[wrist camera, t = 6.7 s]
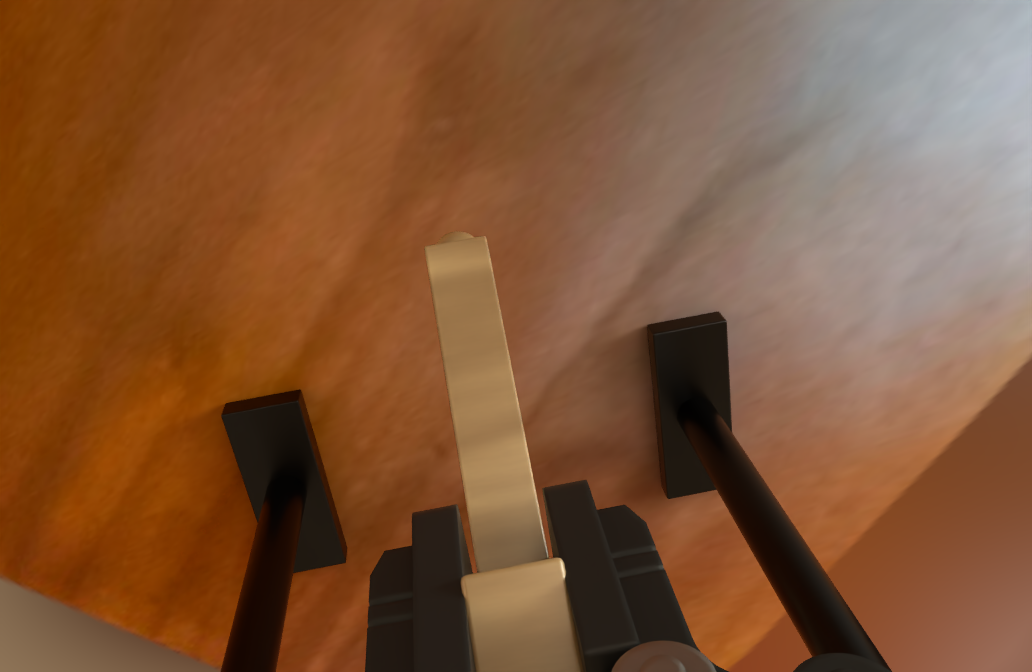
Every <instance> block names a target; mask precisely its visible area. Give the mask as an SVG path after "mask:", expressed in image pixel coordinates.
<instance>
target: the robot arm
mask: <svg viewBox="0 0 1032 672" xmlns="http://www.w3.org/2000/svg"><path fill="white" fill-rule="evenodd" d="M543 497H544V503H545V509H546V515H547V521H548V528H549V534H550V540H551V546H552V552H553V558H556V557H557V558H561V559H562V560H563V562H564V565H565V570H566V575H565V581H566V586H567V591H568V596H569V601H570V606H571V611H572V616H573V621H574V626H575V631H576V635H577V640H578V645H579V650H580V655H581V660H582V665H583V670H584V672H728V671H726V670H724V669H722V668H720V667H718V666H716V665H715V664H714V663H712V662H711V661H710V660H709V659H708V658H707V657H706V656H705V655H704V654H702V653H701V652H700V650H699V649H698V648H697V646H696V644H695V643H694V641H693V638H692V636H691V634H690V631H689V629H688V626H687V624H686V621H685V619H684V616H683V614H682V611H681V609H680V606H679V604H678V601H677V599H676V596H675V594H674V591H673V589H672V586H671V584H670V581H669V579H668V576H667V574H666V571H665V570H664V568H663V564H662V561H661V559H660V556H659V554H658V551H657V550H656V548H655V544H654V541H653V539H652V536H651V534H650V532H649V529H648V527H647V524H646V522H645V521H644V520H642V519H641V518H640V517H639V516H638V515H636V514H635V513H634V512H633V511H632V510H631V509H629V508H628V507H627V506H626V505H621V506H615V507H610V508H605V509H600V510H596V507H595V504H594V500H593V497H592V494H591V491H590V488H589V485H588V482H587V480H582V481H577V482H571V483H566V484H561V485H556V486H551V487H545V488H543ZM468 574H473V572H472V567H471V563H470V558H469V554H468V549H467V544H466V540H465V535H464V531H463V526H462V522H461V517H460V513H459V509H458V506H457V504H456V505H451V506H446V507H441V508H435V509H430V510H425V511H420V512H414V513H413V514H412V546H408V547H403V548H397V549H392V550H387V551H384V553H383V555H382V556H381V558H380V560H379V562H378V563H377V565H376V567H375V568H374V570H373V572H372V574H371V575H370V590H369V605H370V606H369V609H368V628H367V646H366V665H365V672H476V668H475V662H474V656H473V649H472V643H471V636H470V630H469V624H468V617H467V611H466V605H465V598H464V595H463V594H462V590H461V583H460V582H461V578H462V577H463V576H465V575H468ZM793 672H891V671H889V670H888V669H886V668H884V667H883V666H881V665H879V664H877V663H875V662H873V661H871V660H869V659H866V658H864V657H861V656H857V655H853V654H846V653H827V654H821V655H818V656H814V657H812V658H810V659H808V660H806V661H804V662H803V663H801V664H800V665H799V666H798V667H797V668H796V669H795V670H794V671H793Z"/></svg>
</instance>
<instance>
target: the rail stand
mask: <svg viewBox="0 0 1032 672" xmlns="http://www.w3.org/2000/svg"><path fill="white" fill-rule="evenodd" d="M647 331H648V342H649V353H650V363H651V374H652V385H653V396H654V407H655V418H656V429H657V439H658V450H659V461H660V472H661V483H662V488H663V490H664V492H665V494H666V496H667V498H668V499H672V498H677V497H682V496H687V495H692V494H697V493H702V492H707V491H712V490H717V491H718V493H719V495H720V496H721V498H722V500H723V501H724V503H725V505H726V507H727V508H728V510H729V512H730V514H731V515H732V517H733V519H734V521H735V522H736V524H737V526H738V528H739V529H740V531H741V533H742V535H743V536H744V538H745V540H746V542H747V543H748V545H749V547H750V549H751V550H752V552H753V554H754V556H755V557H756V559H757V561H758V563H759V564H760V566H761V568H762V570H763V571H764V573H765V575H766V577H767V578H768V580H769V582H770V584H771V585H772V587H773V589H774V591H775V592H776V594H777V596H778V598H779V599H780V601H781V603H782V605H783V606H784V608H785V610H786V612H787V613H788V615H789V617H790V618H791V620H792V622H793V624H794V625H795V627H796V629H797V630H798V632H799V634H800V636H801V638H802V639H803V641H804V643H805V644H806V646H807V648H808V650H809V652H810V653H811V655H812V657H814V656H818V655H821V654H827V653H846V654H853V655H857V656H861V657H864V658H866V659H869V660H871V661H873V662H875V663H877V664H879V665H881V666H883V667H884V668H886V669H888V670H889V671H891V669H890V668H889V667H888V665H887V663H886V662H885V660H884V659H883V657H882V656H881V654H880V653H879V652H878V650H877V648H876V647H875V645H874V644H873V642H872V641H871V640H870V638H869V637H868V635H867V634H866V632H865V631H864V629H863V628H862V626H861V625H860V623H859V622H858V620H857V619H856V617H855V616H854V614H853V613H852V611H851V610H850V608H849V607H848V605H847V604H846V602H845V601H844V599H843V598H842V596H841V595H840V593H839V592H838V590H837V589H836V587H835V586H834V584H833V583H832V581H831V580H830V578H829V577H828V575H827V574H826V572H825V571H824V569H823V568H822V566H821V565H820V563H819V562H818V560H817V559H816V557H815V556H814V554H813V553H812V551H811V550H810V548H809V547H808V545H807V544H806V542H805V541H804V539H803V538H802V537H801V535H800V534H799V532H798V531H797V529H796V528H795V526H794V525H793V523H792V522H791V520H790V519H789V517H788V516H787V514H786V513H785V511H784V510H783V508H782V507H781V505H780V504H779V502H778V501H777V499H776V498H775V496H774V495H773V493H772V492H771V490H770V489H769V487H768V486H767V484H766V483H765V481H764V480H763V478H762V477H761V475H760V474H759V472H758V471H757V469H756V468H755V466H754V465H753V463H752V462H751V460H750V459H749V457H748V456H747V454H746V453H745V451H744V450H743V448H742V447H741V445H740V444H739V442H738V441H737V439H736V438H735V437H734V435H733V434H732V422H731V401H730V381H729V360H728V339H727V321H726V320H725V319H724V317H723V316H722V315H721V314H720V313H719V312H713V313H708V314H702V315H697V316H692V317H686V318H681V319H676V320H670V321H665V322H660V323H654V324H649V325H647ZM221 417H222V420H223V423H224V425H225V428H226V431H227V434H228V437H229V440H230V443H231V446H232V449H233V452H234V455H235V458H236V461H237V463H238V466H239V469H240V472H241V475H242V478H243V481H244V484H245V487H246V490H247V493H248V496H249V498H250V501H251V504H252V507H253V510H254V513H255V516H256V519H257V522H258V525H257V529H256V533H255V537H254V541H253V545H252V549H251V553H250V557H249V561H248V565H247V569H246V573H245V577H244V581H243V585H242V589H241V593H240V597H239V601H238V605H237V609H236V613H235V617H234V621H233V625H232V629H231V633H230V637H229V641H228V645H227V649H226V653H225V657H224V661H223V665H222V669H221V672H276V667H277V661H278V656H279V650H280V644H281V639H282V633H283V627H284V622H285V616H286V610H287V605H288V599H289V593H290V587H291V582H292V576H293V573H296V572H301V571H306V570H311V569H316V568H321V567H326V566H332V565H337V564H342V563H346V556H347V546H346V542H345V539H344V535H343V532H342V529H341V525H340V522H339V518H338V515H337V511H336V508H335V505H334V501H333V498H332V494H331V491H330V487H329V484H328V481H327V477H326V474H325V470H324V467H323V463H322V460H321V457H320V453H319V450H318V446H317V443H316V439H315V436H314V433H313V429H312V426H311V422H310V419H309V415H308V412H307V409H306V405H305V402H304V398H303V395H302V392H301V390H295V391H289V392H284V393H279V394H273V395H268V396H263V397H257V398H252V399H247V400H241V401H236V402H230V403H226V404H225V407H224V409H223V412H222V415H221ZM891 672H892V671H891Z"/></svg>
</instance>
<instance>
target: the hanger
mask: <svg viewBox="0 0 1032 672" xmlns="http://www.w3.org/2000/svg"><path fill="white" fill-rule="evenodd" d="M424 250H425V256H426V262H427V268H428V274H429V280H430V286H431V293H432V299H433V305H434V311H435V317H436V323H437V329H438V335H439V341H440V347H441V354H442V360H443V366H444V372H445V378H446V384H447V390H448V396H449V402H450V408H451V415H452V421H453V427H454V433H455V439H456V445H457V451H458V457H459V463H460V469H461V476H462V482H463V488H464V494H465V500H466V506H467V512H468V518H469V524H470V530H471V536H472V543H473V549H474V555H475V561H476V567H477V573H473V574H468V575H465V576H463V577H462V578H461V582H460V583H461V590H462V594H463V595H464V598H465V605H466V611H467V617H468V624H469V630H470V636H471V643H472V649H473V656H474V662H475V668H476V672H584V670H583V665H582V660H581V655H580V650H579V645H578V640H577V635H576V631H575V626H574V621H573V616H572V611H571V606H570V601H569V596H568V591H567V586H566V581H565V575H566V570H565V565H564V562H563V560H562V559H561V558H557V557H556V558H550V559H549V555H548V550H547V545H546V540H545V535H544V530H543V525H542V520H541V515H540V509H539V504H538V499H537V494H536V489H535V484H534V479H533V474H532V469H531V463H530V458H529V453H528V448H527V443H526V438H525V433H524V428H523V423H522V417H521V412H520V407H519V402H518V397H517V392H516V387H515V382H514V377H513V372H512V366H511V361H510V356H509V351H508V346H507V341H506V336H505V331H504V326H503V320H502V315H501V310H500V305H499V300H498V295H497V290H496V285H495V280H494V274H493V269H492V264H491V259H490V254H489V249H488V244H487V239H486V237H485V236H480V237H473V236H472V235H470V234H468V233H465V232H458V231H457V232H451V233H448V234H446V235H444V236H443V237H442V238H441V239H440V240H439V241H438V242H437V244H435V245H430V246H426V247H425V249H424Z"/></svg>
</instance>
